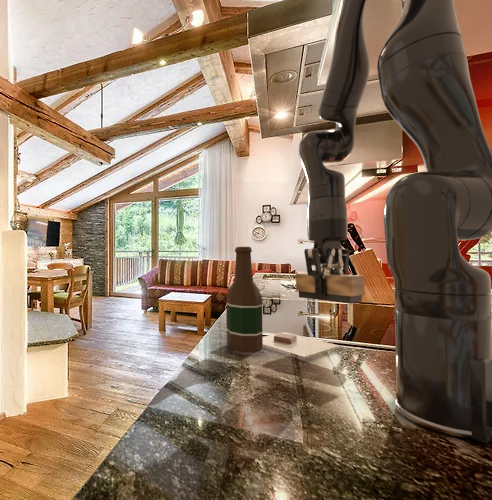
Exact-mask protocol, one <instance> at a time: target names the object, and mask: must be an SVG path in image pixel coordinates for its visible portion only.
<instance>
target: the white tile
mask: <svg viewBox="0 0 492 500" xmlns="http://www.w3.org/2000/svg"><path fill="white" fill-rule="evenodd" d="M279 333H280V332H279ZM279 333H275V334H270V335H265V336H263V346H267V347H270V348H274V349H276V350H279V351H284V352H285V353H286V352H287V353H290V354H293V355H296V356H299V357H303V358H306V357H309V356H312V355H316V354H319V353H322V352H325V351H328V350H331V349H335V348H338V347H340V345H339V344H334V343H331V342H327V341H322V340H318V339H315V338H311V337H307V336H303V335H299V334H294V333H290V332H287V331H286V332H285V331H283V332H282V333H284V334H290V335H296V336H297V341H295V342H293V343H292V344H288V343H283V342H278V341H274V336H275V335H277V334H279Z"/></svg>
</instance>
